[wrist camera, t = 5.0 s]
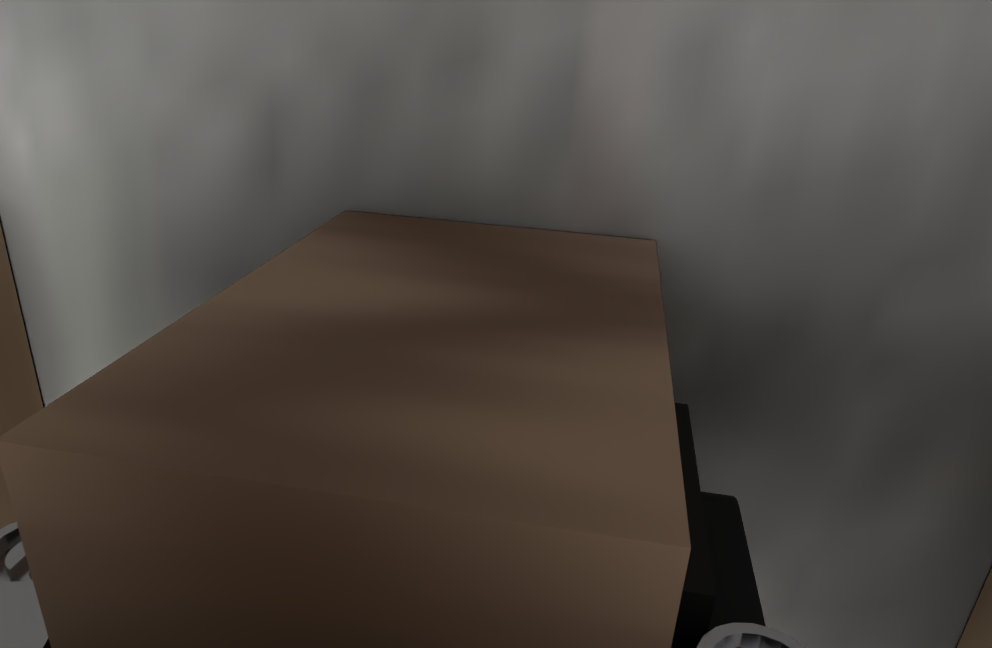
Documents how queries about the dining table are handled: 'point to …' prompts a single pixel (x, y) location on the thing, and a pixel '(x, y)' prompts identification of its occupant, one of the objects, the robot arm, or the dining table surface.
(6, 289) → the shelf bay
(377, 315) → the block
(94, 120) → the dining table surface
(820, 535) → the dining table surface
